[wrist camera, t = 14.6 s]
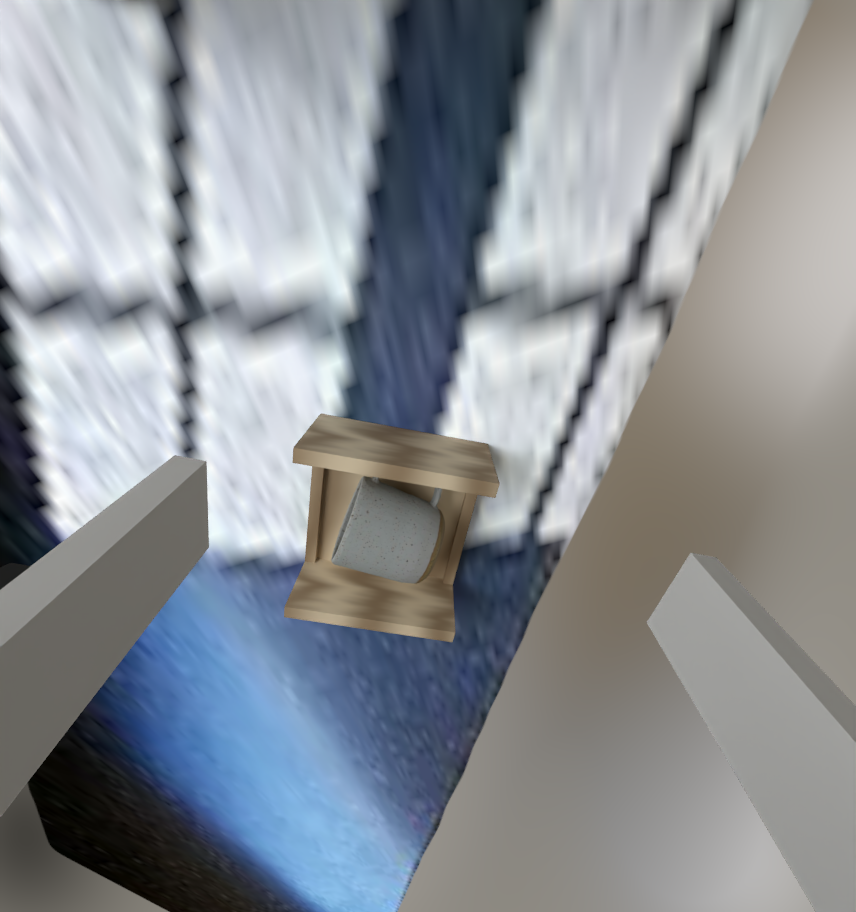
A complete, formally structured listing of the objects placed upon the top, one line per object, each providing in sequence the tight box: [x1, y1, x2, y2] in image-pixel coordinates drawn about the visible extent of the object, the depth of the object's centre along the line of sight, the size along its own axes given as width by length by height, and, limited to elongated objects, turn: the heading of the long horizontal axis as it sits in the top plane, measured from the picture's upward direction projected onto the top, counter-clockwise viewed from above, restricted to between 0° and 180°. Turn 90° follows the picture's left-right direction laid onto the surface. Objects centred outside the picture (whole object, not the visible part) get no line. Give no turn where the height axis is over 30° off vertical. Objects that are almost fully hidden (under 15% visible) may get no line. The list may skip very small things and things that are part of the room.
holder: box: [284, 414, 499, 642], centre depth 36 cm, size 15×16×8 cm
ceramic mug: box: [331, 476, 445, 584], centre depth 35 cm, size 11×8×8 cm
